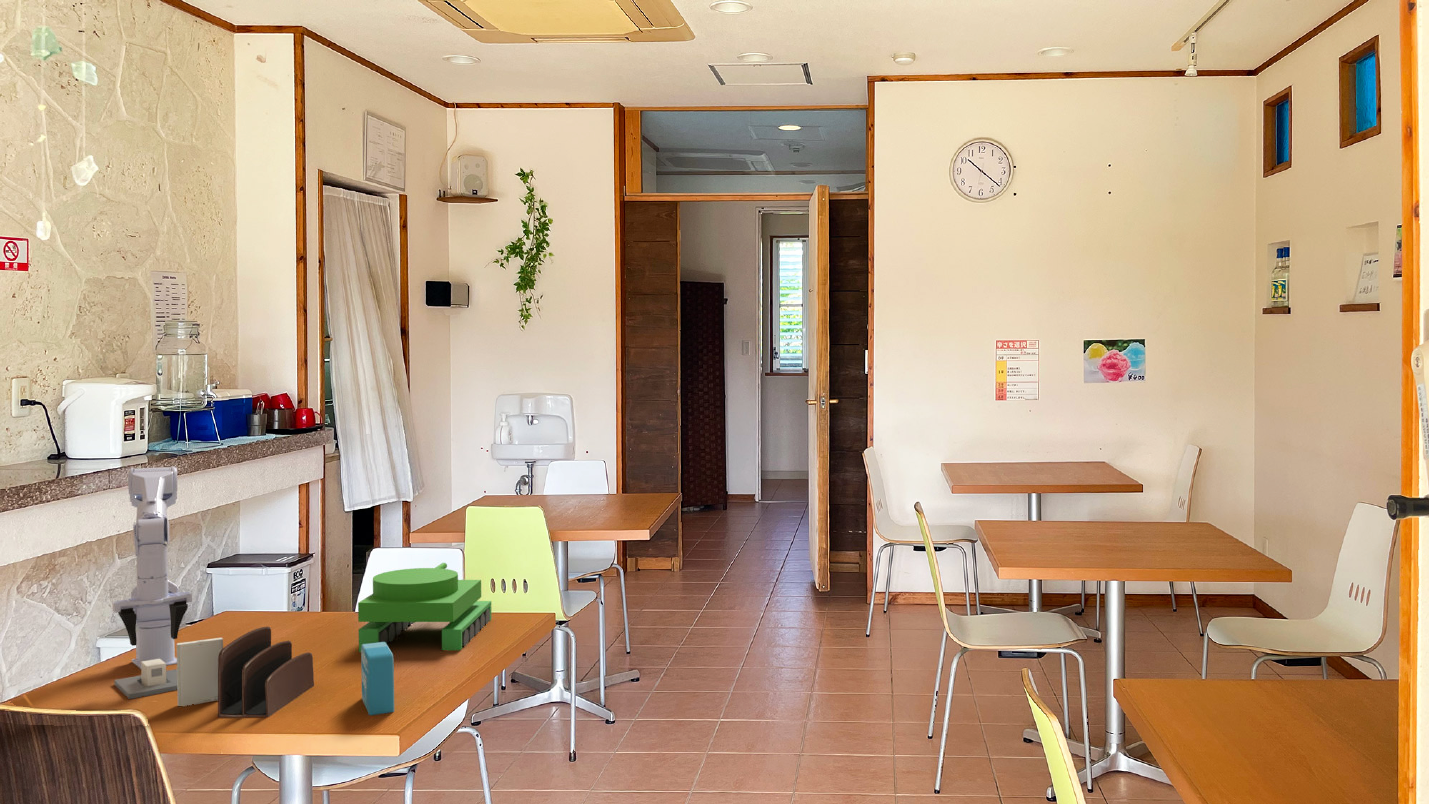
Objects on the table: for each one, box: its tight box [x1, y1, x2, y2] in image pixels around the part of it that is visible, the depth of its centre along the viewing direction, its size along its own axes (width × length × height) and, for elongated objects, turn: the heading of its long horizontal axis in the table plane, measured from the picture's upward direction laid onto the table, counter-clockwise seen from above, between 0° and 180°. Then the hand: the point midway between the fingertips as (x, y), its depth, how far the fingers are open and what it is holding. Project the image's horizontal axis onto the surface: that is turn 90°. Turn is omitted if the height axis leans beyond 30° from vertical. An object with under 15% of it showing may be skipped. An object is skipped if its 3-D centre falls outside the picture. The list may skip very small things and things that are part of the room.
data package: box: [360, 642, 395, 716], centre depth 204 cm, size 12×4×12 cm, turn 25°
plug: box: [140, 659, 167, 687], centre depth 222 cm, size 8×4×5 cm, turn 41°
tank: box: [357, 562, 493, 653], centre depth 260 cm, size 24×35×16 cm
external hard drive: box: [176, 637, 224, 707], centre depth 209 cm, size 2×8×12 cm, turn 123°
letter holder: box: [217, 626, 315, 719], centre depth 209 cm, size 10×20×14 cm, turn 176°
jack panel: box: [113, 668, 177, 700], centre depth 225 cm, size 13×24×1 cm, turn 131°
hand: (153, 641), depth 221 cm, fingers open, 7 cm apart
